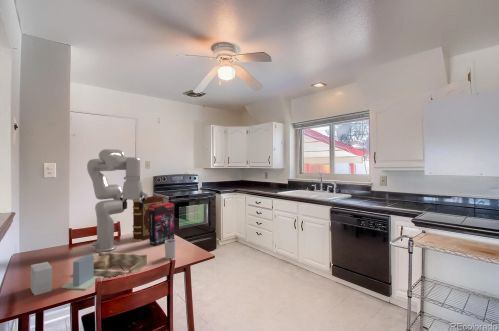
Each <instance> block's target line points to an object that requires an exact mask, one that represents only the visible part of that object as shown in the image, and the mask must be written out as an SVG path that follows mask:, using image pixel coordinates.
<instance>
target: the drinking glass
mask: <svg viewBox="0 0 499 331" xmlns="http://www.w3.org/2000/svg"><path fill="white" fill-rule="evenodd" d="M176 252H177V240H176V239H175V238H174V239H169V240H165V243H164V253H165V254H164V255H165V256H164V257H165V259H166V260H170V259H169V258H174V259H176V255H177V254H176Z"/></svg>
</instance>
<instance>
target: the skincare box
mask: <svg viewBox="0 0 499 331" xmlns="http://www.w3.org/2000/svg"><path fill="white" fill-rule="evenodd" d="M29 287H30V290H31V293H32V294H34V295H33V296H40V295H42V294H46V293H50V292H52V291H53V267H52V265H51V264H50V263H49V262H48V261H45V262H40V263H34V264H31V265H30V286H29Z"/></svg>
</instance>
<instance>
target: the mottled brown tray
mask: <svg viewBox="0 0 499 331" xmlns="http://www.w3.org/2000/svg"><path fill="white" fill-rule="evenodd" d="M107 255H109V261H112V265H116V266H117V265H118V266H132V267H131V268H128V269H129V270H127V271H126V270H112V269H107V270H99V269H94V276H102V277H114V276H118V275H124V274H129V273H133V272H136V271H139V270H140V271H142V270H143V269H144V268H146V267H147V265H148V255H147V254H141V253H140V254H138V253H122V252H121V253H120V252H108V251H107V252H98V256H107ZM140 271H139V272H140Z"/></svg>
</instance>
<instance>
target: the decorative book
mask: <svg viewBox="0 0 499 331" xmlns="http://www.w3.org/2000/svg"><path fill="white" fill-rule="evenodd" d="M132 202H133V204H132V205H133V206H132V210H133V212H132V217H133V219H132V221H133V224H132V241H133V242H142V241H146V240H150V235H149V206H150V205H156V204H163V203H164V196H157V195H155V196H154V195H153V196H148V197H147V198H146V200H145V201H144V202H143V209H142V210H139V203H140V202H139V200H138V199H137V200H132Z"/></svg>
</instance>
